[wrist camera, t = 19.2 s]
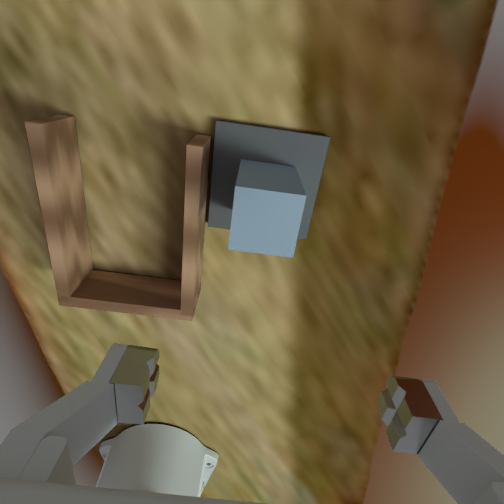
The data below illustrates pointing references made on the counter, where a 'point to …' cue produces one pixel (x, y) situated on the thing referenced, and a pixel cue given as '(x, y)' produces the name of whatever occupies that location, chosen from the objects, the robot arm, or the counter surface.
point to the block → (266, 209)
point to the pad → (263, 150)
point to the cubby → (77, 237)
